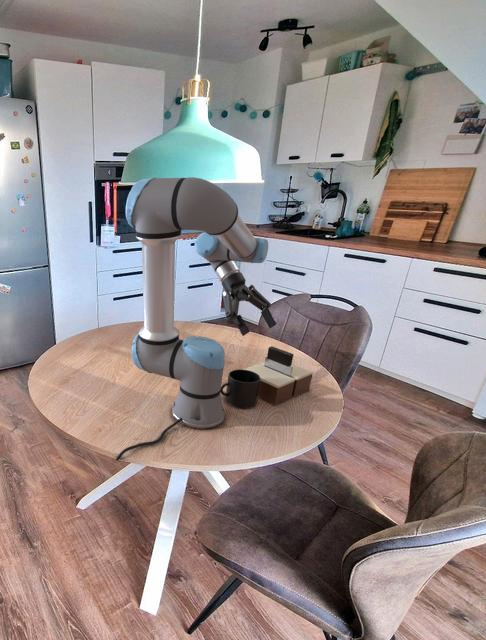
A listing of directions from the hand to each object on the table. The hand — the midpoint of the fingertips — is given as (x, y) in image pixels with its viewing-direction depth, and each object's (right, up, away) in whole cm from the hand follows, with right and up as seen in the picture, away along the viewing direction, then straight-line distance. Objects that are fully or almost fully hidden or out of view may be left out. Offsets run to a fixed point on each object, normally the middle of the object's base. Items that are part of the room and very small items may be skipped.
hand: (260, 330), depth 130 cm
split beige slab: (+5, -20, +1) cm, 20 cm away
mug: (-10, -23, -7) cm, 26 cm away
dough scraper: (+5, -18, 0) cm, 19 cm away
